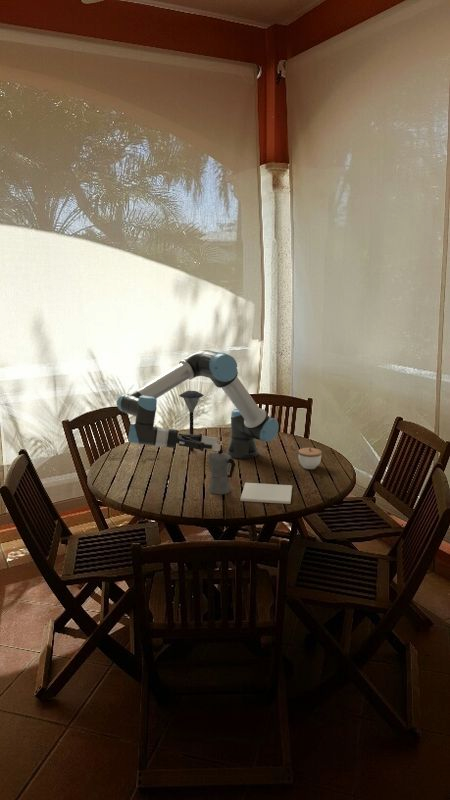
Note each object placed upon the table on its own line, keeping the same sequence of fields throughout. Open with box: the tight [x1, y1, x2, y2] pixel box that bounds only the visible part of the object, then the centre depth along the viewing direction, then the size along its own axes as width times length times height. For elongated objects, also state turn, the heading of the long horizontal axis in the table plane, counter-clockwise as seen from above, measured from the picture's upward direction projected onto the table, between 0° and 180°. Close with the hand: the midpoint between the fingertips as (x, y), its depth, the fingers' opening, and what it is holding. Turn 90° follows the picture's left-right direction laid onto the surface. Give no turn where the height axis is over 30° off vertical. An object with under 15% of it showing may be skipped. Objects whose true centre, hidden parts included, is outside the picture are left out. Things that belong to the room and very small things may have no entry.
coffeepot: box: [208, 448, 236, 495], centre depth 257 cm, size 15×9×18 cm, turn 43°
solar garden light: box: [178, 390, 205, 452], centre depth 310 cm, size 12×12×30 cm
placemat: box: [239, 482, 293, 505], centre depth 256 cm, size 18×20×1 cm
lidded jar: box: [298, 447, 323, 470], centre depth 289 cm, size 11×11×9 cm
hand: (218, 444), depth 255 cm, fingers open, 13 cm apart
